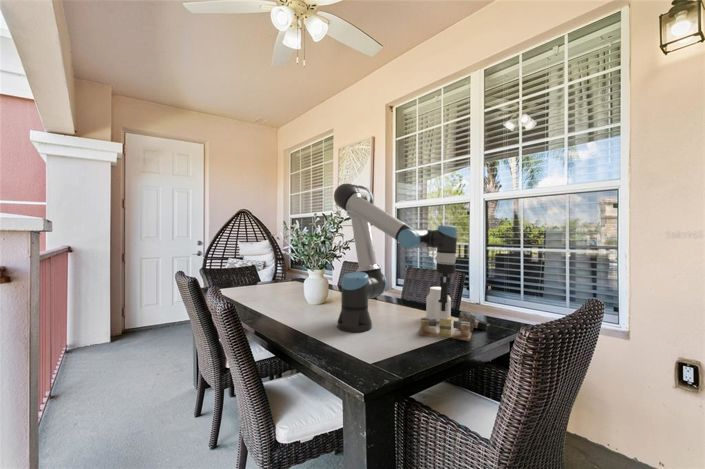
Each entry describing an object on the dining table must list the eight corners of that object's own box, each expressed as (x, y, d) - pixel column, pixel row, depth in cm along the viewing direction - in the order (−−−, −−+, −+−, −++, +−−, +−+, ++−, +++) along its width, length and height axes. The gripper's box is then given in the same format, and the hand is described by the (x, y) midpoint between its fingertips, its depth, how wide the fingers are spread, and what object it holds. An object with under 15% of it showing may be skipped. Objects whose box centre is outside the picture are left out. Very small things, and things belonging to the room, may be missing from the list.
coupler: (439, 335, 133) (439, 318, 133) (439, 332, 138) (440, 315, 138) (451, 336, 132) (451, 319, 132) (451, 333, 136) (451, 316, 136)
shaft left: (420, 335, 133) (420, 320, 133) (419, 329, 141) (420, 315, 141) (436, 336, 132) (437, 321, 132) (435, 330, 140) (435, 316, 140)
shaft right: (452, 338, 130) (452, 323, 130) (455, 332, 137) (455, 318, 137) (469, 340, 127) (469, 325, 127) (471, 335, 134) (472, 320, 134)
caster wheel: (485, 333, 145) (483, 336, 136) (460, 324, 150) (456, 326, 142) (489, 318, 145) (487, 320, 136) (463, 310, 151) (460, 311, 142)
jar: (446, 316, 163) (447, 286, 162) (453, 322, 153) (454, 290, 153) (423, 316, 162) (424, 286, 162) (429, 322, 152) (429, 290, 152)
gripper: (455, 267, 121) (452, 324, 122) (456, 260, 145) (453, 308, 146) (434, 265, 124) (431, 321, 124) (438, 259, 147) (436, 306, 148)
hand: (443, 314), depth 135 cm, fingers open, 13 cm apart
